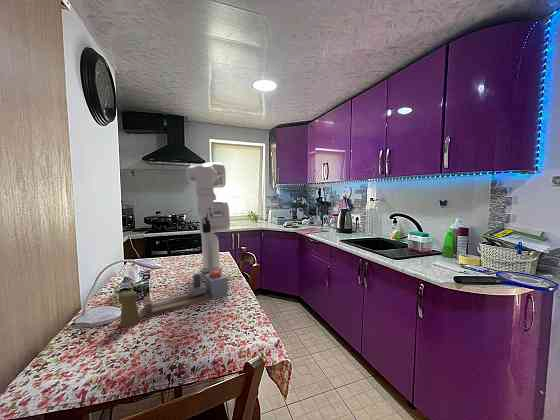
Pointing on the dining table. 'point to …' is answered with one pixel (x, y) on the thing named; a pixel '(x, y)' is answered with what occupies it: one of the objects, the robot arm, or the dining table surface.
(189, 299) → the board
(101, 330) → the dining table surface
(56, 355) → the dining table surface
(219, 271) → the button
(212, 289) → the end cabinet
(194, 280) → the carriage
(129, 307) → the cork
